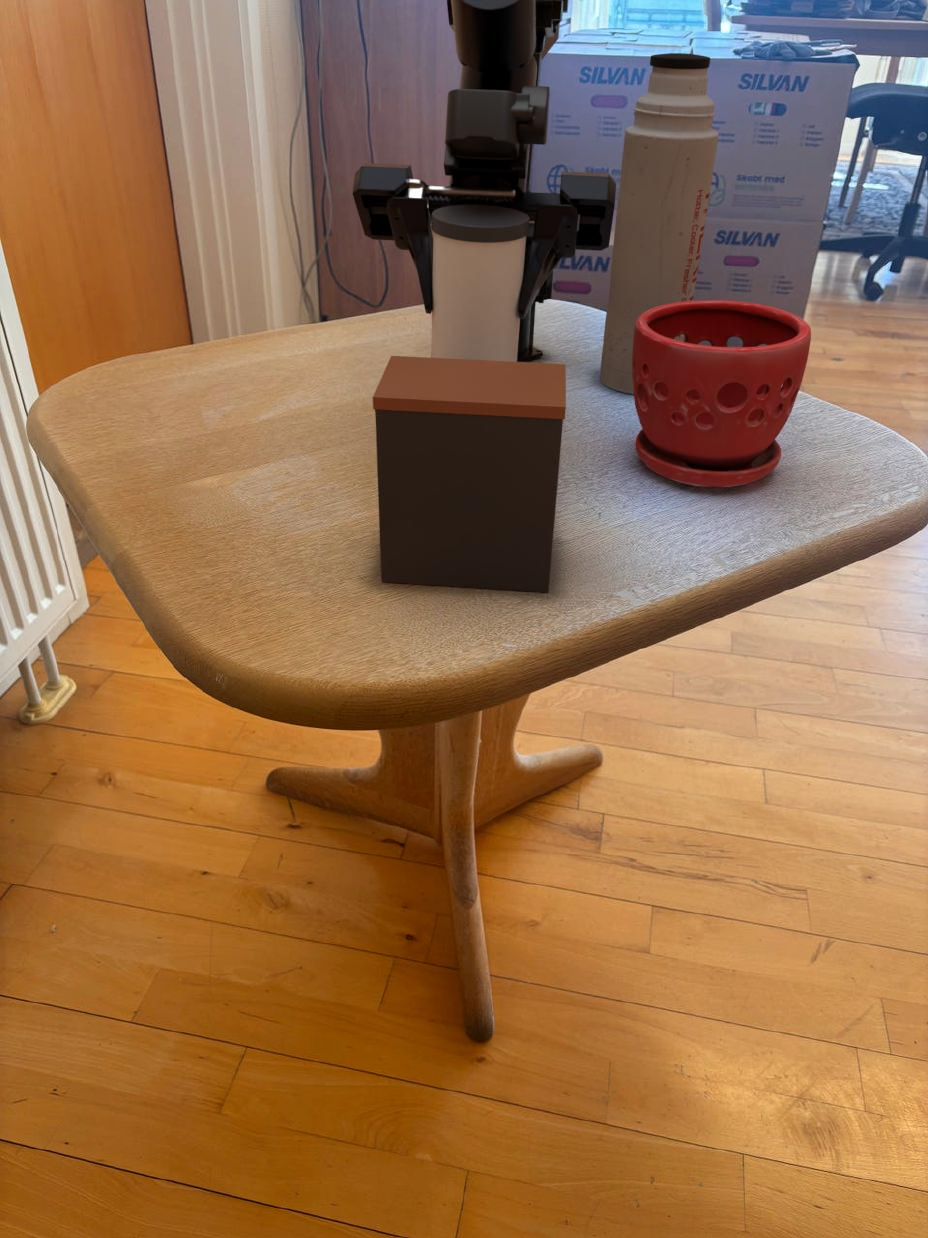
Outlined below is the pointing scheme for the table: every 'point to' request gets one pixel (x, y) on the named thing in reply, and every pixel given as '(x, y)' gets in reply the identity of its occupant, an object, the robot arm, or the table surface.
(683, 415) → the flower pot
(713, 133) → the thermos bottle
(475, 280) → the container
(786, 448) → the table surface
